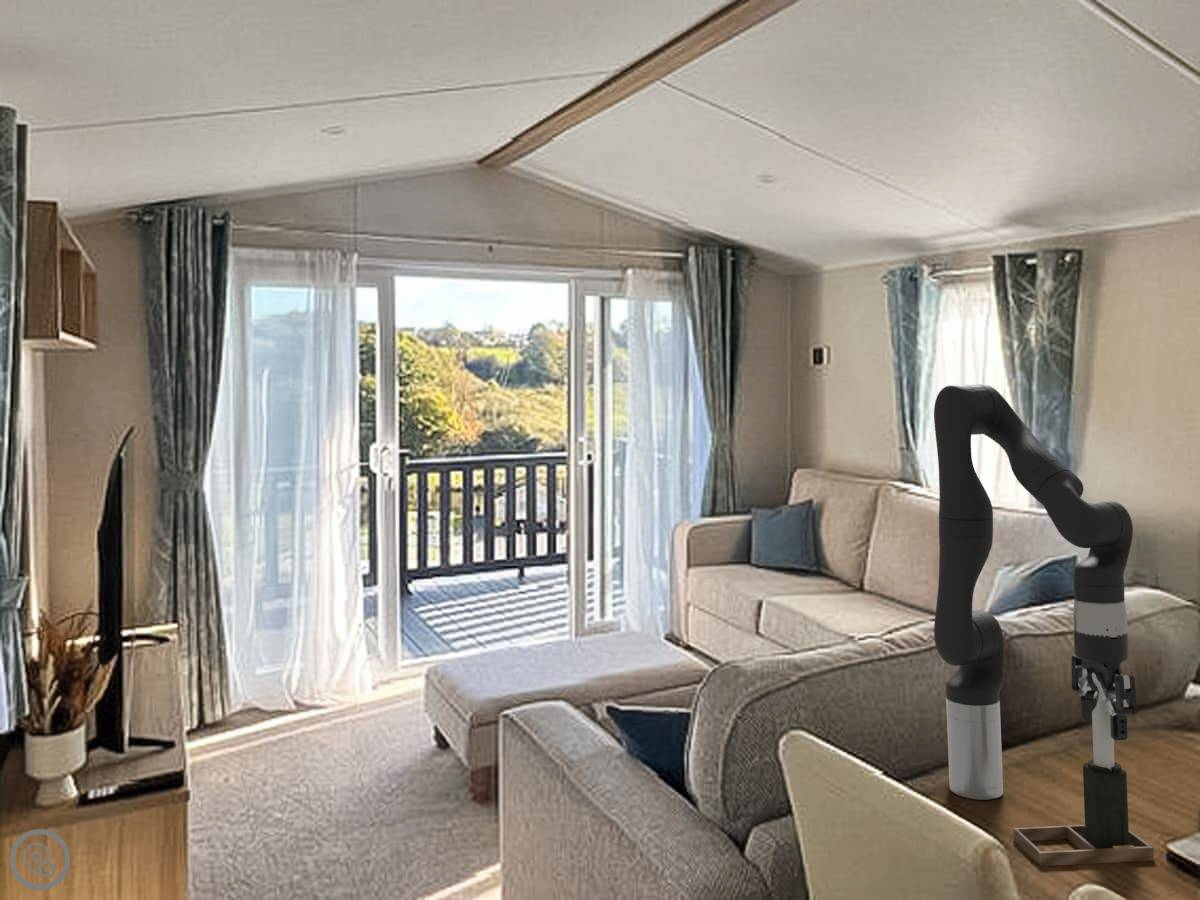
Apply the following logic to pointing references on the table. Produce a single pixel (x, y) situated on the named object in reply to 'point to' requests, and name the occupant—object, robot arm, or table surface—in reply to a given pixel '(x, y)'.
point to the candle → (1104, 787)
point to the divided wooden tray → (1079, 847)
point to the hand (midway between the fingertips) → (1103, 730)
